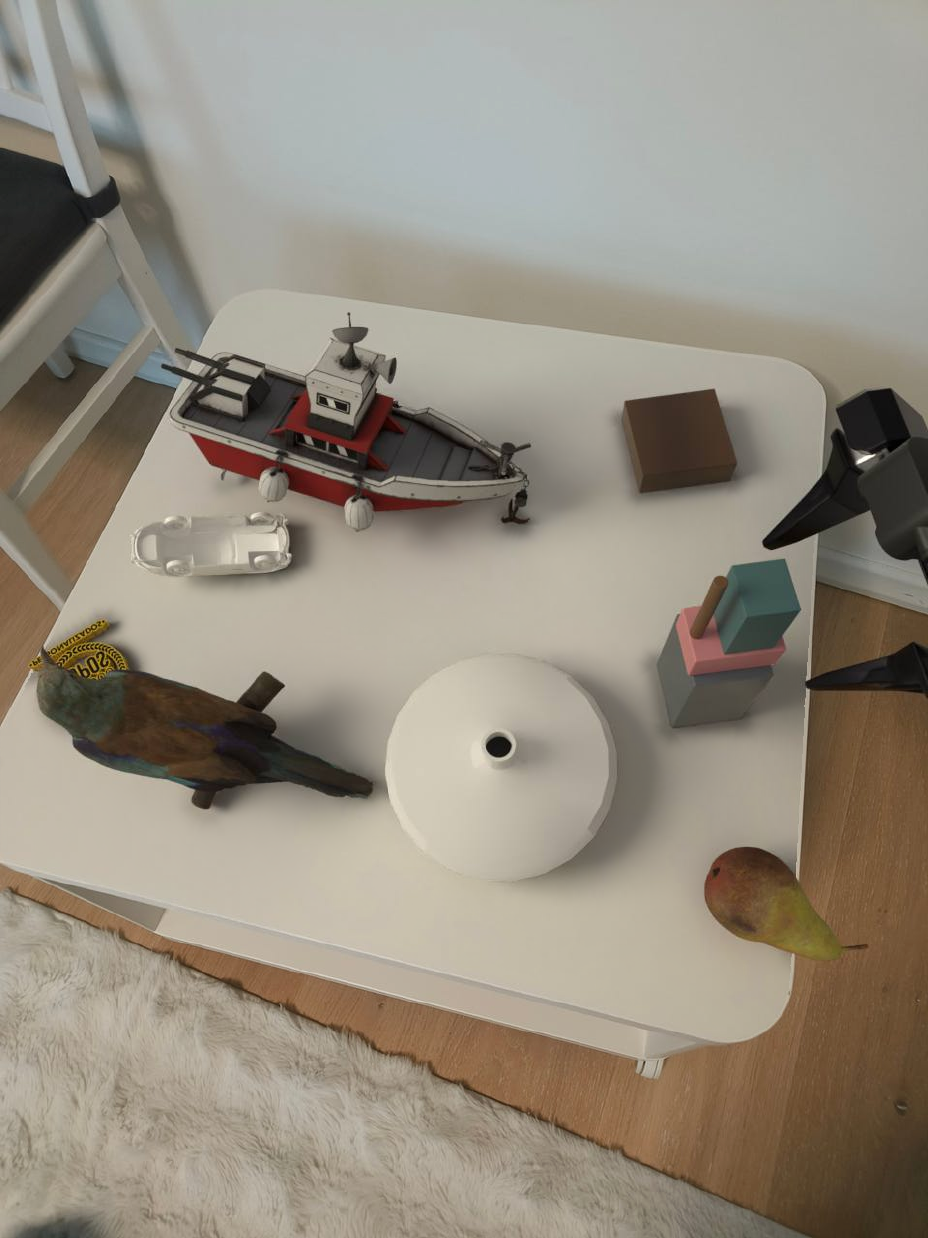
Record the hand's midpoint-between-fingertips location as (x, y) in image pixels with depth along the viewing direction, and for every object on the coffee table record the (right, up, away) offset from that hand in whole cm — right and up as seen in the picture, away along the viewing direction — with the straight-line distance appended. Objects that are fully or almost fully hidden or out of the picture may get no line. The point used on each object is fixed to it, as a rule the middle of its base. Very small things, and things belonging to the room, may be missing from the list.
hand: (786, 613), depth 50 cm
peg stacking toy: (-3, -2, +3) cm, 5 cm away
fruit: (-3, -16, +3) cm, 16 cm away
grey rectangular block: (-2, -6, +12) cm, 13 cm away
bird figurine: (-35, -10, +12) cm, 39 cm away
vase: (-16, -11, +10) cm, 22 cm away
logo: (-50, -2, +16) cm, 53 cm away
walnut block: (-2, +14, +20) cm, 25 cm away
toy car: (-39, +6, +15) cm, 42 cm away
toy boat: (-28, +11, +21) cm, 36 cm away
